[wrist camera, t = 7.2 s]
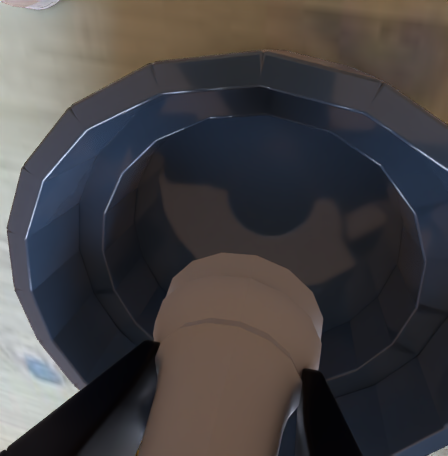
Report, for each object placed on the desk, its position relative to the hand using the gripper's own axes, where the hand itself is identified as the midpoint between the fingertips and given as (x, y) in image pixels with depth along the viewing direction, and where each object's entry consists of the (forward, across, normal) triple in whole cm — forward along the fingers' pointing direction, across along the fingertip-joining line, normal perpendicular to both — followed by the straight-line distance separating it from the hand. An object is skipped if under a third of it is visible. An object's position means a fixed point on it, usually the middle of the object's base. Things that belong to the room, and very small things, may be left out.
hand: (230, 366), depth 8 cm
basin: (+6, 0, 0) cm, 7 cm away
